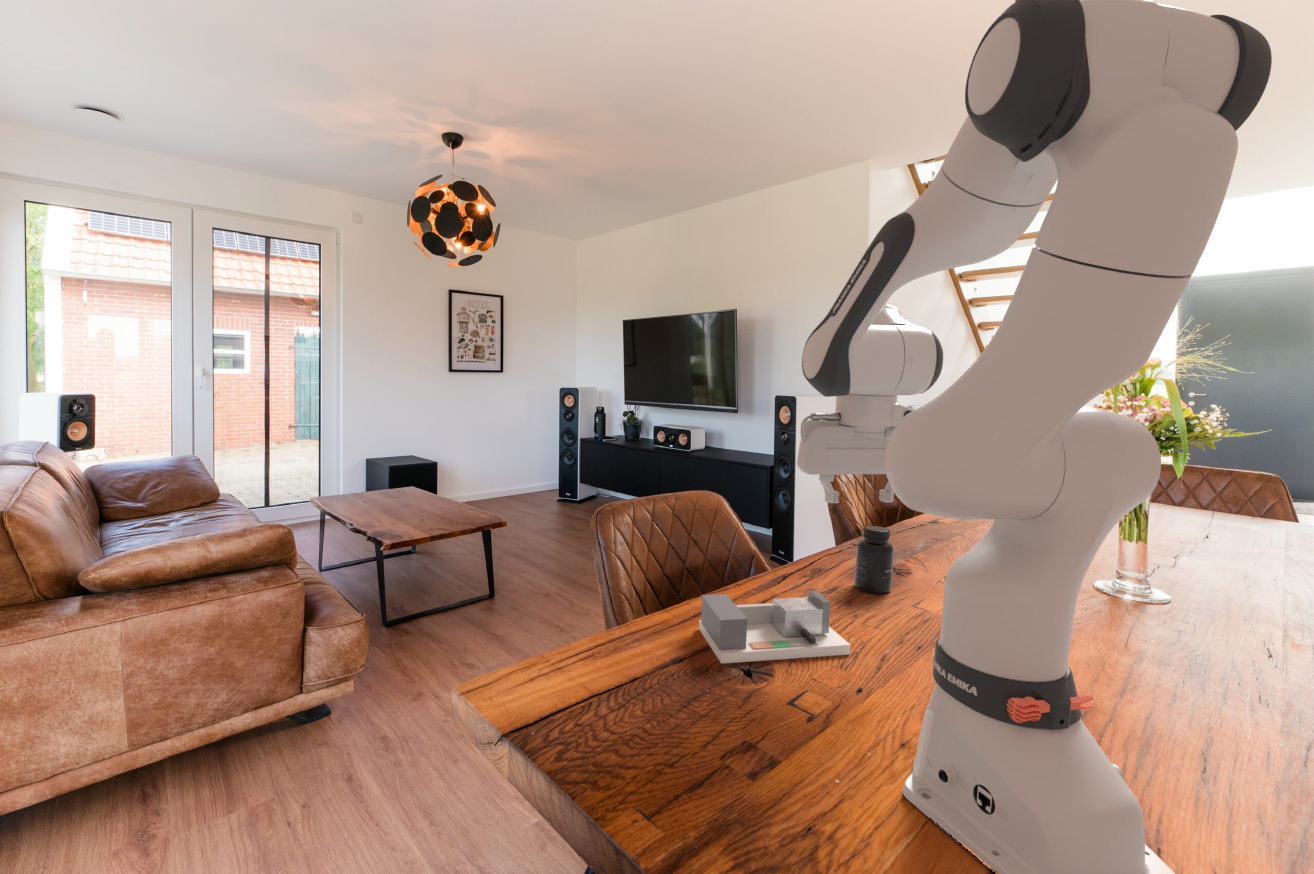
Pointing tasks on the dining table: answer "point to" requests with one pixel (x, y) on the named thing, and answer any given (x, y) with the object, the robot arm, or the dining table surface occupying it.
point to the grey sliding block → (802, 616)
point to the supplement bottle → (874, 561)
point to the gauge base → (757, 634)
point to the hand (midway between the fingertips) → (859, 502)
